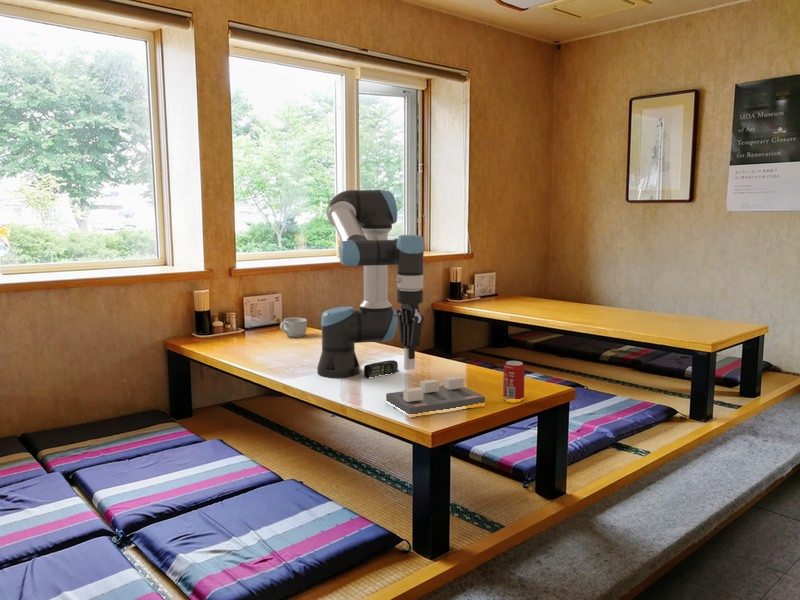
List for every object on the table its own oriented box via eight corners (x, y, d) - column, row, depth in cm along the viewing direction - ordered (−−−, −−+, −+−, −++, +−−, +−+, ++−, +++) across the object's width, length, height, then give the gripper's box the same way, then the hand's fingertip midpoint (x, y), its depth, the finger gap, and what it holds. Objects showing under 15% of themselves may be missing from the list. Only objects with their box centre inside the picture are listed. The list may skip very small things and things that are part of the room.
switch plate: (386, 403, 196) (386, 393, 195) (457, 392, 207) (457, 383, 206) (409, 418, 182) (409, 407, 181) (484, 406, 192) (485, 396, 192)
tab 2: (420, 390, 197) (420, 381, 197) (434, 388, 199) (434, 379, 199) (424, 393, 194) (424, 383, 194) (439, 391, 197) (439, 381, 196)
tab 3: (444, 387, 201) (444, 377, 200) (458, 385, 203) (458, 376, 202) (449, 389, 198) (449, 380, 198) (463, 387, 200) (463, 378, 200)
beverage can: (527, 400, 198) (528, 362, 197) (516, 405, 194) (517, 366, 192) (510, 396, 202) (511, 359, 201) (498, 401, 198) (499, 362, 196)
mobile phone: (366, 366, 223) (401, 359, 232) (362, 364, 225) (396, 357, 234) (367, 380, 224) (402, 372, 232) (362, 378, 226) (397, 370, 235)
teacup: (299, 333, 306) (299, 316, 305) (311, 336, 298) (311, 319, 297) (273, 336, 297) (272, 319, 296) (285, 340, 289) (284, 322, 288)
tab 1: (403, 399, 188) (403, 389, 188) (418, 397, 190) (418, 387, 190) (407, 401, 186) (407, 391, 185) (423, 399, 188) (423, 389, 187)
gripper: (388, 286, 190) (388, 364, 193) (408, 293, 178) (407, 375, 182) (411, 285, 193) (410, 362, 197) (432, 291, 181) (431, 372, 185)
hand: (409, 368), depth 189 cm, fingers closed
